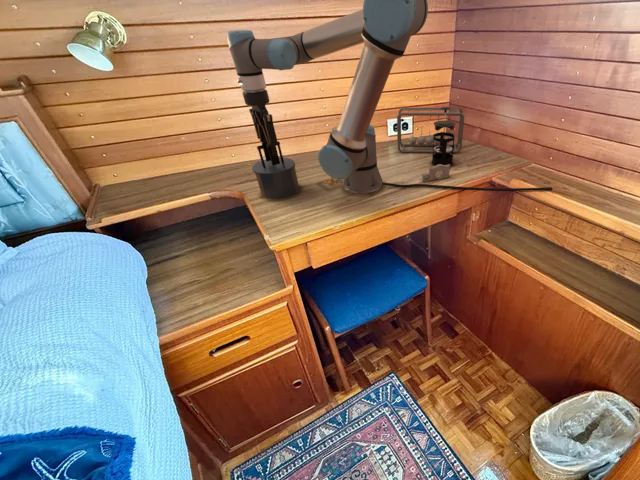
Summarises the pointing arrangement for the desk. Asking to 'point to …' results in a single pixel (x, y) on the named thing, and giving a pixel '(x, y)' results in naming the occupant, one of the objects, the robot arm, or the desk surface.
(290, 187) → the pot
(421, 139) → the newton's cradle
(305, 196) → the desk surface
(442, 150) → the french press
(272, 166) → the lid
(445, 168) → the garden wall model
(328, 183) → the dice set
